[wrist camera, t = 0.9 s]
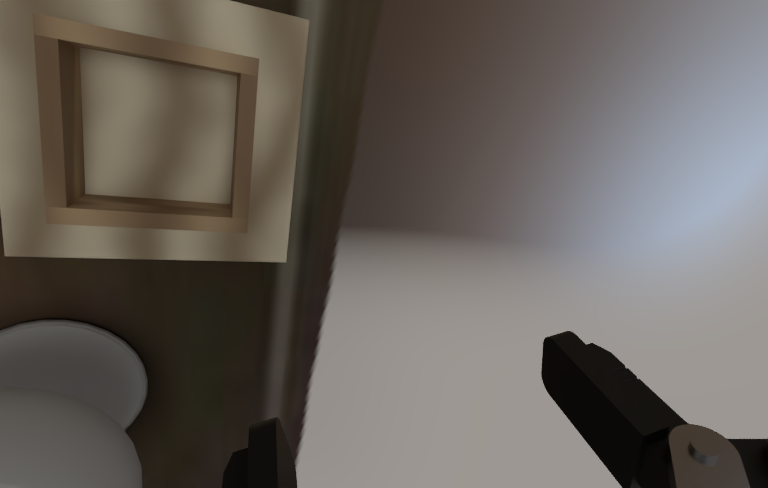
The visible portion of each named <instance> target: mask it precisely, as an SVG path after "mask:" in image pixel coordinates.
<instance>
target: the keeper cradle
mask: <svg viewBox="0 0 768 488" xmlns="http://www.w3.org/2000/svg"><path fill="white" fill-rule="evenodd" d="M308 30H309V20H307V19H303V18H299V17H295V16H291V15H287V14H283V13H278V12H274V11H270V10H266V9H262V8H258V7H254V6H250V5H246V4H242V3H238V2H234V1H230V0H0V211H1V221H2V231H3V242H4V252H5V256H17V257H63V258H109V259H155V260H201V261H247V262H286V258H287V247H288V237H289V227H290V216H291V206H292V196H293V185H294V175H295V165H296V154H297V144H298V134H299V123H300V113H301V103H302V92H303V82H304V72H305V61H306V51H307V41H308Z"/></svg>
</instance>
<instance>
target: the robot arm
mask: <svg viewBox="0 0 768 488" xmlns="http://www.w3.org/2000/svg"><path fill="white" fill-rule="evenodd" d="M542 380H543V383H544V386H545V388H546V390H547V392H548V393H549V395H550V396H551V397H552V399H553V400H554V401H555V402H556V404H557V405H558V406H559V407H560V409H561V410H562V411H563V413H564V414H565V415H566V416H567V418H568V419H569V420H570V421H571V423H572V424H573V425H574V427H575V428H576V429H577V430H578V431H579V433H580V434H581V435H582V437H583V438H584V439H585V440H586V442H587V443H588V444H589V446H590V447H591V448H592V449H593V451H594V452H595V453H596V455H597V456H598V457H599V458H600V460H601V461H602V462H603V463H604V465H605V466H606V467H607V468H608V470H609V471H610V472H611V474H612V475H613V476H614V477H615V479H616V480H617V481H618V482H619V484H620V485H621V486H622V488H768V439H726V438H724V437H723V436H722V435H720V434H719V433H717V432H715V431H713V430H711V429H708V428H706V427H703V426H698V425H693V424H688V423H687V422H686V421H684V420H683V419H682V418H681V417H680V416H679V415H678V414H676V412H674V411H673V410H672V409H671V408H670V407H669V406H668V405H667V404H666V403H665V402H663V400H662V399H660V398H659V397H658V396H657V395H656V394H655V393H654V392H653V391H652V390H651V389H650V388H649V387H647V386H646V385H645V384H644V383H643V382H642V381H641V380H640V379H637V377H636V376H635V375H634V374H633V373H632V372H631V371H630V370H629V369H628V368H627V369H626V368H625V365H624V364H623V363H622V362H620V361H619V360H618V359H617V358H616V357H615V356H614V355H613V354H612V353H611V352H609V351H607V350H605V349H603V348H601V347H599V346H597V345H595V344H593V343H590V344H587V345H586V344H585V343H584V342H583V341H582V340H581V339H580V338H579V337H578V336H577V335H575V334H574V333H573V332H571V331H566V332H563V333H560V334H557V335H553V336H550V337H547V338H545V339H544V343H543V358H542ZM222 488H297V479H296V469H295V463H294V459H293V455H292V451H291V449H290V446H289V443H288V441H287V438H286V435H285V433H284V430H283V428H282V425H281V422H280V420H279V418H278V417H276V418H273V419H269V420H266V421H263V422H259V423H256V424H253V425H250V428H249V443H248V448H246V449H243V450H239V451H236V452H233V454H232V456H231V458H230V460H229V462H228V465H227V467H226V469H225V471H224V473H223V484H222Z"/></svg>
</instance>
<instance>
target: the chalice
mask: <svg viewBox="0 0 768 488" xmlns="http://www.w3.org/2000/svg"><path fill="white" fill-rule="evenodd" d="M147 387H148V379H147V375H146V371H145V367H144V365H143V363H142V361H141V360H140V358H139V356H138V355H137V353H136V352H135V351H134V350H133V349H132V348H131V347H130V346H129V345H128V344H127V343H126V342H125V341H124V340H123V339H121V338H119V337H118V336H116V335H114V334H113V333H111V332H109V331H108V330H105V329H102V328H99V327H97V326H94V325H91V324H88V323H82V322H77V321H71V320H38V321H32V322H26V323H20V324H17V325H14V326H11V327H8V328H5V329H2V330H0V488H142V467H141V464H140V461H139V459H138V456H137V453H136V450H135V447H134V445H133V442H132V440H131V439H130V438H129V436H128V435H127V433H126V432H125V430H126V429H127V428H128V427H129V426H130V425H131V424H132V423H133V422H134V420H135V419H136V417H137V416H138V414H139V413H140V411H141V410H142V408H143V405H144V402H145V399H146V397H147Z"/></svg>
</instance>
